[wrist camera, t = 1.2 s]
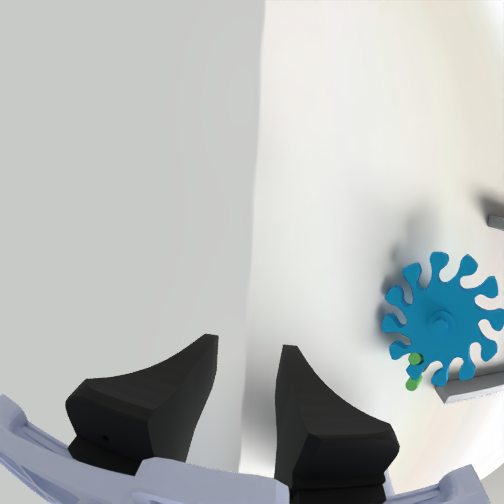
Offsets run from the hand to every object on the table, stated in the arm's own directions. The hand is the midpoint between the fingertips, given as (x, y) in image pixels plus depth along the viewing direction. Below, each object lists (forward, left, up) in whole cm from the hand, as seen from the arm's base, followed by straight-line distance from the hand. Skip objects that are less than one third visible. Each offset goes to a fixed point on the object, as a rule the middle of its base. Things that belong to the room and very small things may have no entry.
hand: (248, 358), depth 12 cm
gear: (0, -13, -9) cm, 16 cm away
